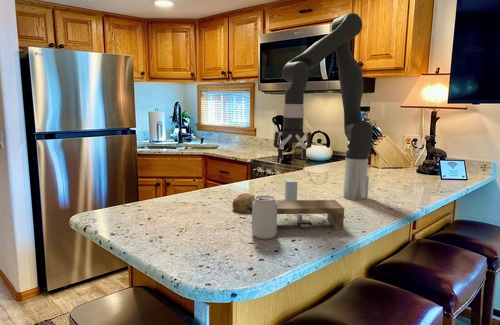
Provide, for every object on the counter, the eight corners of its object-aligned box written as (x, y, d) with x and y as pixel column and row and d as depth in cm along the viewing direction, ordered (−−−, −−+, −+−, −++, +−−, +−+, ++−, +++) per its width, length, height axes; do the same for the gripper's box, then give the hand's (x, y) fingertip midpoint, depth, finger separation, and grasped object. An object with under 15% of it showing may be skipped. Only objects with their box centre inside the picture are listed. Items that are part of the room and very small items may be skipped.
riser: (333, 219, 128) (334, 200, 127) (343, 229, 118) (344, 208, 117) (265, 220, 126) (265, 200, 125) (268, 230, 116) (269, 208, 115)
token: (309, 224, 123) (310, 219, 122) (313, 229, 118) (313, 224, 117) (295, 225, 122) (295, 219, 122) (298, 230, 117) (298, 224, 117)
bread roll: (237, 222, 135) (241, 205, 131) (226, 204, 142) (230, 188, 138) (260, 218, 140) (265, 202, 135) (249, 201, 147) (253, 185, 143)
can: (250, 231, 114) (251, 194, 113) (274, 231, 115) (275, 194, 113) (252, 240, 107) (253, 200, 105) (278, 240, 108) (279, 200, 106)
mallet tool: (294, 204, 147) (295, 179, 145) (306, 220, 126) (307, 192, 124) (284, 204, 146) (285, 179, 145) (294, 220, 126) (295, 192, 124)
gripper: (309, 116, 143) (307, 157, 146) (273, 115, 142) (272, 157, 145) (314, 117, 136) (312, 160, 139) (276, 116, 135) (274, 160, 138)
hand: (291, 158), depth 142 cm, fingers open, 8 cm apart
